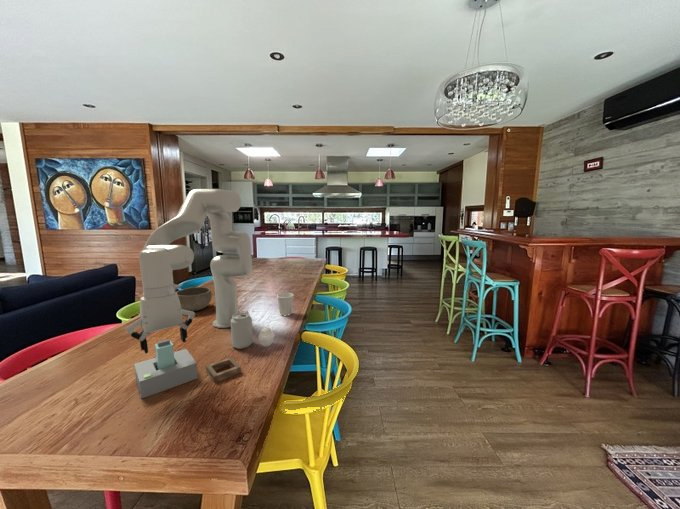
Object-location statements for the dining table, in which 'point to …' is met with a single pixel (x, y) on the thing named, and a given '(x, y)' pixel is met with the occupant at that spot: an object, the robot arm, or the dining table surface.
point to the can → (241, 330)
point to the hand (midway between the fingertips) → (165, 345)
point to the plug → (164, 354)
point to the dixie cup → (285, 303)
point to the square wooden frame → (224, 374)
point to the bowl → (194, 298)
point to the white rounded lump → (266, 337)
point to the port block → (165, 374)
